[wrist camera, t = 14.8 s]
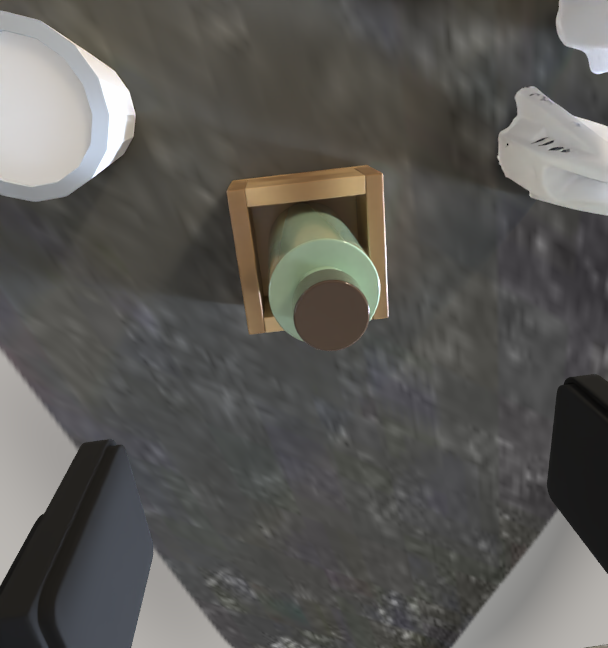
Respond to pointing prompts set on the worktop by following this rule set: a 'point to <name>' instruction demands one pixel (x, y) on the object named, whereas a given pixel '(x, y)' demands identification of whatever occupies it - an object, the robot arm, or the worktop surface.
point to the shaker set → (562, 126)
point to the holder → (286, 190)
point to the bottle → (320, 278)
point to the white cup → (56, 112)
